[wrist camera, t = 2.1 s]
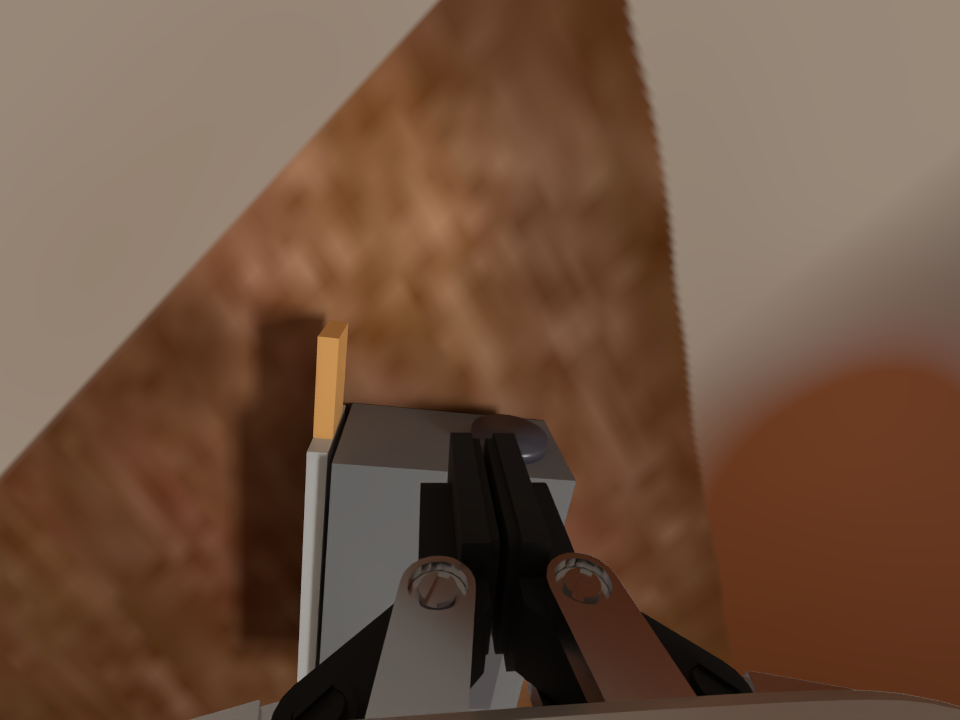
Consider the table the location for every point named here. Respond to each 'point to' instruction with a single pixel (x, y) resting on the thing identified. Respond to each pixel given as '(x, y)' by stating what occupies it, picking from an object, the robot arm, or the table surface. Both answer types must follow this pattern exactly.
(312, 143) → the table surface
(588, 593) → the robot arm
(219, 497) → the table surface
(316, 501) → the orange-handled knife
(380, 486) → the grey control box
